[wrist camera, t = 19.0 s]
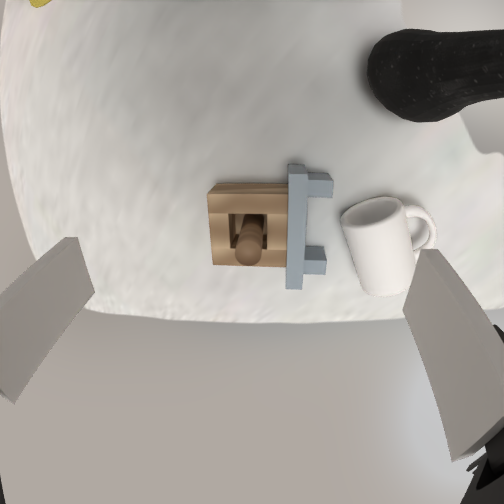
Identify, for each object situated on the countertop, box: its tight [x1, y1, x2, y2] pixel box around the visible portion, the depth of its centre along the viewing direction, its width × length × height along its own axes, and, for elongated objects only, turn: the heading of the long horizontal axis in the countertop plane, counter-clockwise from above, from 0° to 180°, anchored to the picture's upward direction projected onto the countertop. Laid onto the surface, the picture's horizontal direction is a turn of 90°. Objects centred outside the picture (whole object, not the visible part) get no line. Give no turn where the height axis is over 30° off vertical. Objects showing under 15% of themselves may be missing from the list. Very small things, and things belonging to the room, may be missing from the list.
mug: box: [340, 197, 437, 297], centre depth 33 cm, size 12×10×8 cm
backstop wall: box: [286, 164, 333, 290], centre depth 35 cm, size 14×5×6 cm, turn 1°
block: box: [207, 184, 288, 267], centre depth 36 cm, size 9×9×5 cm
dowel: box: [235, 214, 264, 266], centre depth 33 cm, size 3×3×10 cm
